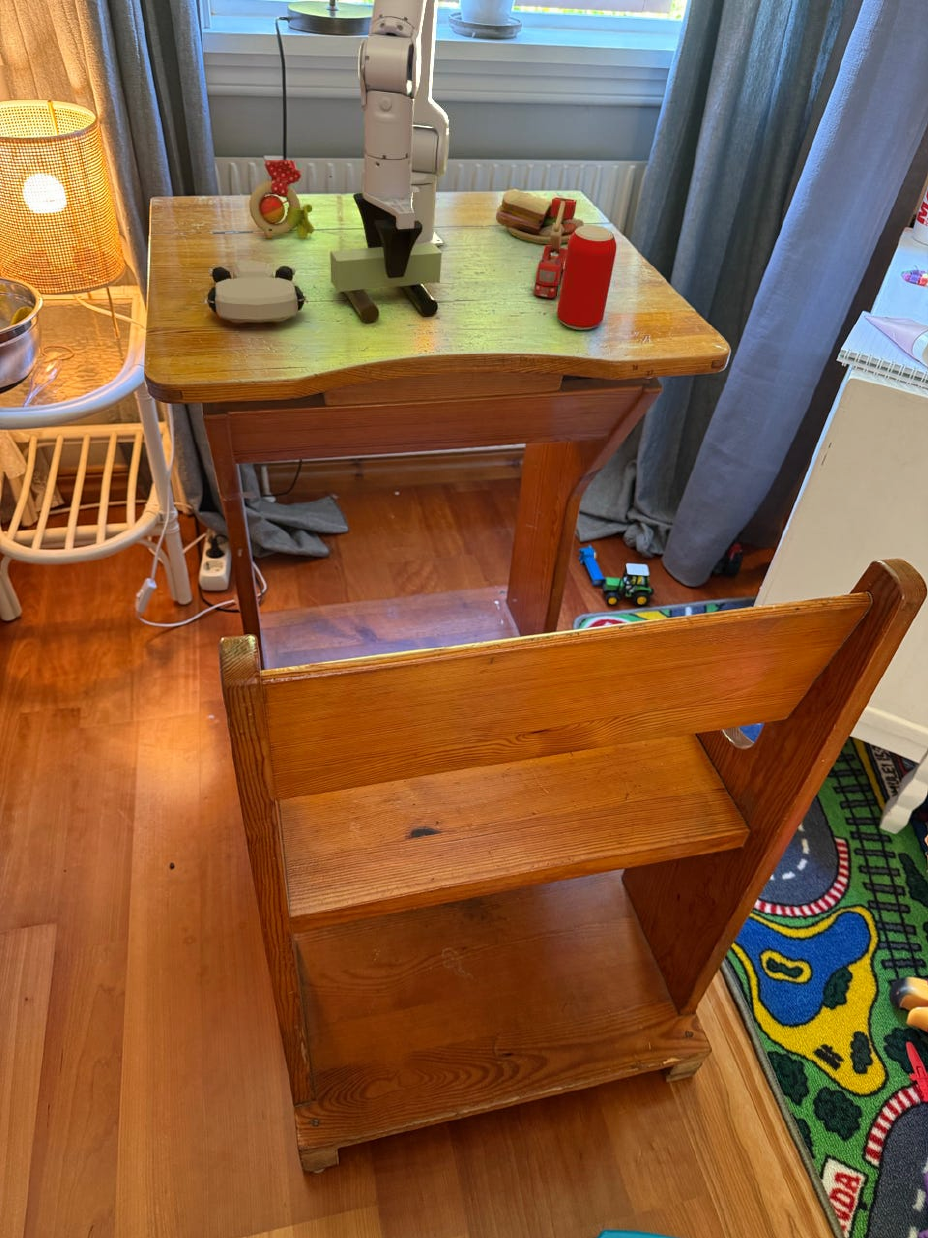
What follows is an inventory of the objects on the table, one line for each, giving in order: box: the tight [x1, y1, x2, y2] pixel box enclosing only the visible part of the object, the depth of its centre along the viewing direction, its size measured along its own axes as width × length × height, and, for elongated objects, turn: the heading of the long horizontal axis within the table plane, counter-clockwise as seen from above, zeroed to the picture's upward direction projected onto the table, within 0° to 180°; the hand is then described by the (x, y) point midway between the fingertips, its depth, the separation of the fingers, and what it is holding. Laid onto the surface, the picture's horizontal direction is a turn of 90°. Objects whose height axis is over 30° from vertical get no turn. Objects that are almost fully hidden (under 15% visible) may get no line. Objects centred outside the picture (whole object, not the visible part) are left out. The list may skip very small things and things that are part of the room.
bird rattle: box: [249, 158, 315, 240], centre depth 131 cm, size 6×11×9 cm
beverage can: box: [556, 224, 618, 331], centre depth 117 cm, size 6×6×12 cm
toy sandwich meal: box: [495, 188, 585, 246], centre depth 142 cm, size 12×14×5 cm
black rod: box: [400, 284, 439, 318], centre depth 123 cm, size 12×2×2 cm, turn 22°
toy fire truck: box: [533, 196, 578, 299], centre depth 127 cm, size 3×14×10 cm, turn 168°
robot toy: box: [204, 260, 309, 324], centre depth 116 cm, size 12×4×15 cm
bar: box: [329, 243, 442, 293], centre depth 119 cm, size 14×3×4 cm, turn 112°
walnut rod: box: [343, 289, 380, 324], centre depth 120 cm, size 12×2×2 cm, turn 22°
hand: (386, 264), depth 119 cm, fingers open, 7 cm apart
